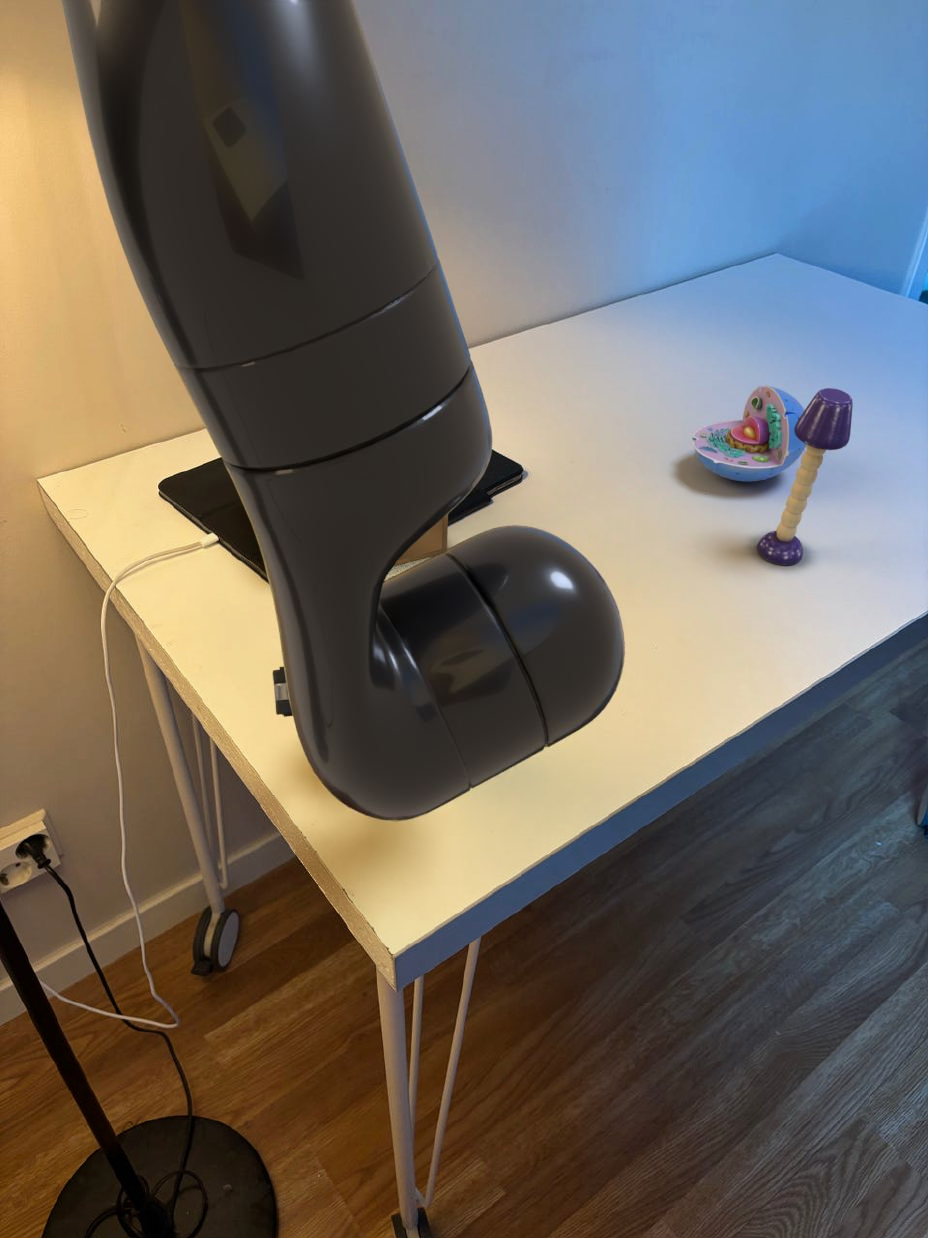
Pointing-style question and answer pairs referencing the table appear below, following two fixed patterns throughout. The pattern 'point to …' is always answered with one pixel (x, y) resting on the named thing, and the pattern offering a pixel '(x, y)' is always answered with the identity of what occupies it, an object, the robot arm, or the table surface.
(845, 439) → the toy lamp
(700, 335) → the table surface
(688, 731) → the table surface
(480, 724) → the robot arm
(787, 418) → the cell model
